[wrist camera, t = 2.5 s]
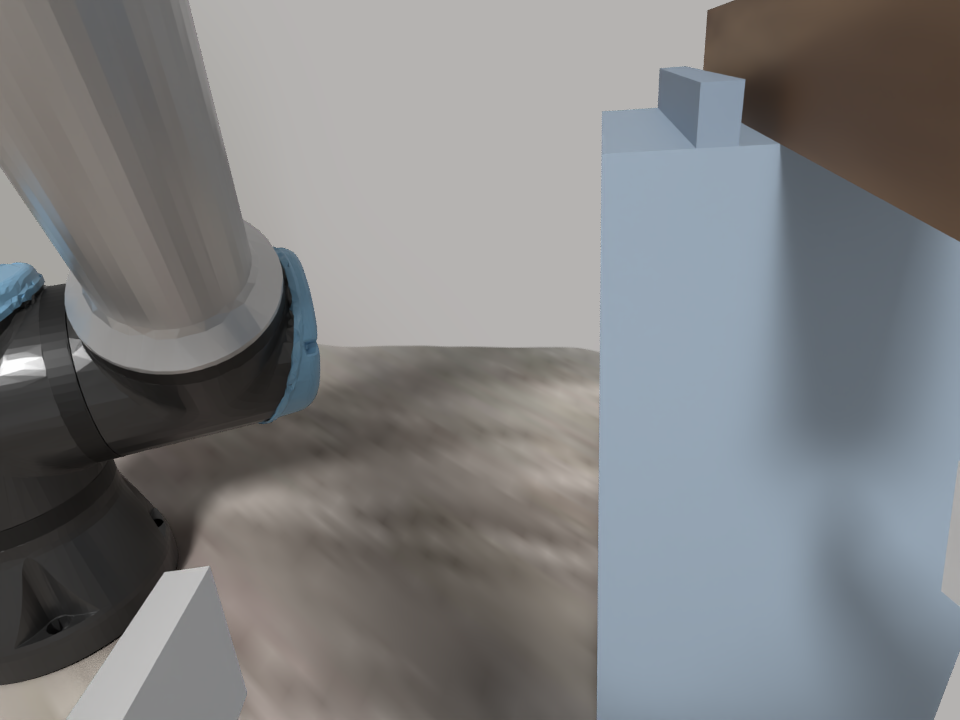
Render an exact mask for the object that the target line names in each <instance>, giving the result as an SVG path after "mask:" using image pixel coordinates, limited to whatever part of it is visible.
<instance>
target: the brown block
mask: <svg viewBox="0 0 960 720" xmlns="http://www.w3.org/2000/svg"><path fill="white" fill-rule="evenodd" d="M703 70H704V71H709V72H714V73H718V74H723V75H728V76H732V77H737V78H742V79H745V89H744V99H743V109H742V119H741V123H743V124H744V125H746V126H748V127H750V128H752V129H754V130H755V131H757V132H759V133H761V134H763V135H765V136H766V137H768V138H770V139H772V140H774V141H776V142H777V143H779V144H781V145H783V146H785V147H787V148H788V149H790V150H792V151H794V152H796V153H798V154H799V155H801V156H803V157H805V158H807V159H809V160H810V161H812V162H814V163H816V164H818V165H820V166H822V167H823V168H825V169H827V170H829V171H831V172H833V173H834V174H836V175H838V176H840V177H842V178H844V179H845V180H847V181H849V182H851V183H853V184H855V185H856V186H858V187H860V188H862V189H864V190H866V191H867V192H869V193H871V194H873V195H875V196H877V197H878V198H880V199H882V200H884V201H886V202H888V203H889V204H891V205H893V206H895V207H897V208H899V209H900V210H902V211H904V212H906V213H908V214H910V215H911V216H913V217H915V218H917V219H919V220H921V221H922V222H924V223H926V224H928V225H930V226H932V227H933V228H935V229H937V230H939V231H941V232H943V233H944V234H946V235H948V236H950V237H952V238H954V239H956V240H957V241H959V242H960V0H734V1H731V2H729V3H726V4H724V5H721V6H718V7H715V8H713V9H710V10H708V13H707V27H706V40H705V55H704V67H703Z"/></svg>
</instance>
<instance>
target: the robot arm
mask: <svg viewBox="0 0 960 720" xmlns="http://www.w3.org/2000/svg"><path fill="white" fill-rule="evenodd" d="M0 167H1V169H2V170H3V172H4V173H5V175H6V176H7V178H8V179H9V180H10V182H11V183H12V185H13V186H14V188H15V189H16V191H17V192H18V194H19V195H20V196H21V198H22V200H23V201H24V203H25V204H26V205H27V207H28V208H29V210H30V211H31V213H32V214H33V216H34V217H35V219H36V220H37V222H38V223H39V225H40V226H41V227H42V229H43V231H44V232H45V233H46V235H47V236H48V238H49V239H50V241H51V242H52V244H53V245H54V246H55V248H56V249H57V251H58V252H59V254H60V256H61V257H62V258H63V260H64V261H65V263H66V264H67V266H68V267H69V269H70V271H69V275H68V278H67V281H66V284H60V285H54V286H46V285H44V282H45V281H44V278H43V276H42V274H39V273H37V271H36V270H35V268H34V267H33V266H31V265H29V264H27V263H17V262H16V263H13V264H0V685H5V684H11V683H17V682H21V681H26V680H30V679H33V678H36V677H40V676H43V675H46V674H49V673H51V672H54V671H56V670H59V669H61V668H64V667H66V666H68V665H70V664H72V663H75V662H77V661H79V660H81V659H83V658H84V657H86V656H88V655H90V654H92V653H93V652H95V651H97V650H99V649H100V648H102V647H103V646H105V645H107V644H108V643H110V642H111V641H113V640H114V639H115V638H117V637H118V636H120V635H121V634H122V633H123V635H122V636H121V638H120V639H119V641H118V642H117V644H116V645H115V647H114V648H113V650H112V651H111V653H110V654H109V656H108V657H107V659H106V660H105V662H104V663H103V665H102V666H101V668H100V669H99V671H98V672H97V674H96V675H95V677H94V678H93V680H92V681H91V683H90V684H89V686H88V687H87V689H86V690H85V692H84V693H83V695H82V696H81V697H80V699H79V700H78V702H77V703H76V705H75V706H74V708H73V709H72V711H71V712H70V714H69V715H68V717H67V718H66V720H238V717H239V715H240V712H241V709H242V706H243V703H244V701H245V698H246V695H247V690H246V687H245V683H244V680H243V677H242V673H241V670H240V666H239V663H238V660H237V656H236V653H235V650H234V646H233V643H232V639H231V636H230V633H229V629H228V626H227V622H226V619H225V616H224V612H223V609H222V605H221V602H220V599H219V595H218V592H217V588H216V585H215V582H214V578H213V575H212V572H211V568H210V566H205V567H198V568H191V569H184V570H177V571H175V570H176V566H177V561H178V549H177V545H176V542H175V540H174V537H173V534H172V532H171V529H170V527H169V524H168V522H167V521H166V519H165V518H164V516H163V515H162V514H161V513H160V512H159V511H158V510H157V509H156V508H154V507H153V505H152V504H151V503H150V502H149V501H148V500H147V499H146V498H145V497H144V496H143V495H142V494H141V493H140V492H139V491H138V490H137V489H136V488H135V487H134V486H133V485H132V484H131V483H130V482H129V481H128V480H127V479H126V478H125V477H124V476H123V475H122V474H121V473H120V472H119V470H118V469H117V467H116V464H115V462H114V459H115V458H119V457H124V456H126V455H130V454H134V453H138V452H142V451H146V450H150V449H154V448H158V447H162V446H166V445H170V444H174V443H178V442H182V441H186V440H190V439H194V438H198V437H202V436H207V435H211V434H215V433H219V432H223V431H227V430H231V429H235V428H239V427H243V426H247V425H251V424H255V423H259V424H266V423H270V422H272V421H273V420H276V419H277V418H279V417H281V416H284V415H287V414H291V413H294V412H298V411H300V410H303V409H304V408H306V407H307V406H309V405H310V404H311V403H312V401H313V400H314V398H315V397H316V394H317V391H318V388H319V382H320V354H319V348H318V345H317V342H316V340H317V325H316V318H315V312H314V308H313V303H312V298H311V294H310V289H309V286H308V282H307V279H306V276H305V273H304V270H303V267H302V265H301V263H300V261H299V259H298V257H297V256H296V255H295V254H294V253H293V252H292V251H290V250H288V249H285V248H276V247H272V245H271V244H270V242H269V241H268V239H267V238H266V237H265V236H264V235H263V234H262V233H261V232H260V231H259V230H258V229H256V228H255V227H254V226H252V225H251V224H250V223H248V222H246V221H244V220H243V219H242V215H241V211H240V207H239V203H238V199H237V195H236V191H235V187H234V183H233V179H232V175H231V171H230V167H229V163H228V159H227V155H226V151H225V147H224V143H223V139H222V135H221V131H220V127H219V123H218V119H217V114H216V111H215V106H214V102H213V99H212V94H211V90H210V86H209V82H208V78H207V74H206V70H205V66H204V62H203V58H202V54H201V50H200V46H199V42H198V38H197V34H196V30H195V26H194V21H193V17H192V14H191V9H190V6H189V1H188V0H0ZM941 592H943V593H944V594H945V595H946V596H947V597H949V598H950V599H951V600H952V601H953V602H955V603H956V604H957V605H958V606H959V607H960V461H958V468H957V476H956V483H955V491H954V498H953V506H952V513H951V520H950V528H949V535H948V543H947V550H946V558H945V565H944V573H943V580H942V587H941Z"/></svg>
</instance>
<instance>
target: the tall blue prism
mask: <svg viewBox="0 0 960 720" xmlns="http://www.w3.org/2000/svg"><path fill="white" fill-rule="evenodd" d="M744 89H745V79H742V78H737V77H732V76H728V75H723V74H718V73H714V72H709V71H704V70H700V69H695V68H690V67H686V66H684V67H671V68H660V74H659V96H658V108H648V109H633V110H618V111H603V112H602V180H601V181H602V182H601V187H602V188H601V296H600V297H601V298H600V299H601V300H600V303H601V304H600V310H601V311H600V411H599V526H598V642H597V720H934V717H935V715H936V712H937V710H938V707H939V704H940V702H941V699H942V696H943V694H944V691H945V689H946V686H947V683H948V681H949V678H950V675H951V673H952V670H953V668H954V665H955V662H956V659H957V657H958V654H959V652H960V607H959V606H958V605H957V604H956V603H955V602H953V601H952V600H951V599H950V598H949V597H947V596H946V595H945V594H944V593H943V592H941V587H942V580H943V573H944V565H945V558H946V550H947V543H948V535H949V528H950V520H951V513H952V506H953V498H954V491H955V483H956V476H957V468H958V461H960V242H959V241H957V240H956V239H954V238H952V237H950V236H948V235H946V234H944V233H943V232H941V231H939V230H937V229H935V228H933V227H932V226H930V225H928V224H926V223H924V222H922V221H921V220H919V219H917V218H915V217H913V216H911V215H910V214H908V213H906V212H904V211H902V210H900V209H899V208H897V207H895V206H893V205H891V204H889V203H888V202H886V201H884V200H882V199H880V198H878V197H877V196H875V195H873V194H871V193H869V192H867V191H866V190H864V189H862V188H860V187H858V186H856V185H855V184H853V183H851V182H849V181H847V180H845V179H844V178H842V177H840V176H838V175H836V174H834V173H833V172H831V171H829V170H827V169H825V168H823V167H822V166H820V165H818V164H816V163H814V162H812V161H810V160H809V159H807V158H805V157H803V156H801V155H799V154H798V153H796V152H794V151H792V150H790V149H788V148H787V147H785V146H783V145H781V144H779V143H777V142H776V141H774V140H772V139H770V138H768V137H766V136H765V135H763V134H761V133H759V132H757V131H755V130H754V129H752V128H750V127H748V126H746V125H744V124H743V123H741V119H742V109H743V99H744Z"/></svg>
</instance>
